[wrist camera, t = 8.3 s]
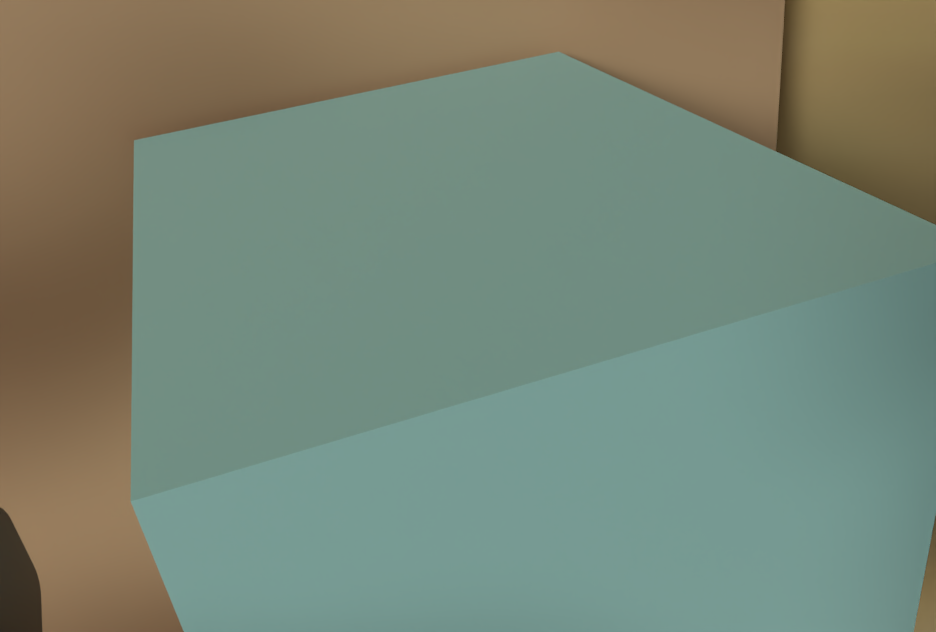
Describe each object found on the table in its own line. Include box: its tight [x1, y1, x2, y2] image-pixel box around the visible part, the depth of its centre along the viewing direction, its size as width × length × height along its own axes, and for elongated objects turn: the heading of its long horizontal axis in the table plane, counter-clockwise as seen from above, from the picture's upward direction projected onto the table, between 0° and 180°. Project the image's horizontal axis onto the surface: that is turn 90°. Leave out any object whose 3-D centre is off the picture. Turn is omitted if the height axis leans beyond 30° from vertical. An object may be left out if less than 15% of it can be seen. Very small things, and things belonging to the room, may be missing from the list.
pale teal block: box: [131, 52, 936, 632], centre depth 9 cm, size 5×5×7 cm
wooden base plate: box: [0, 0, 785, 632], centre depth 10 cm, size 16×12×7 cm
